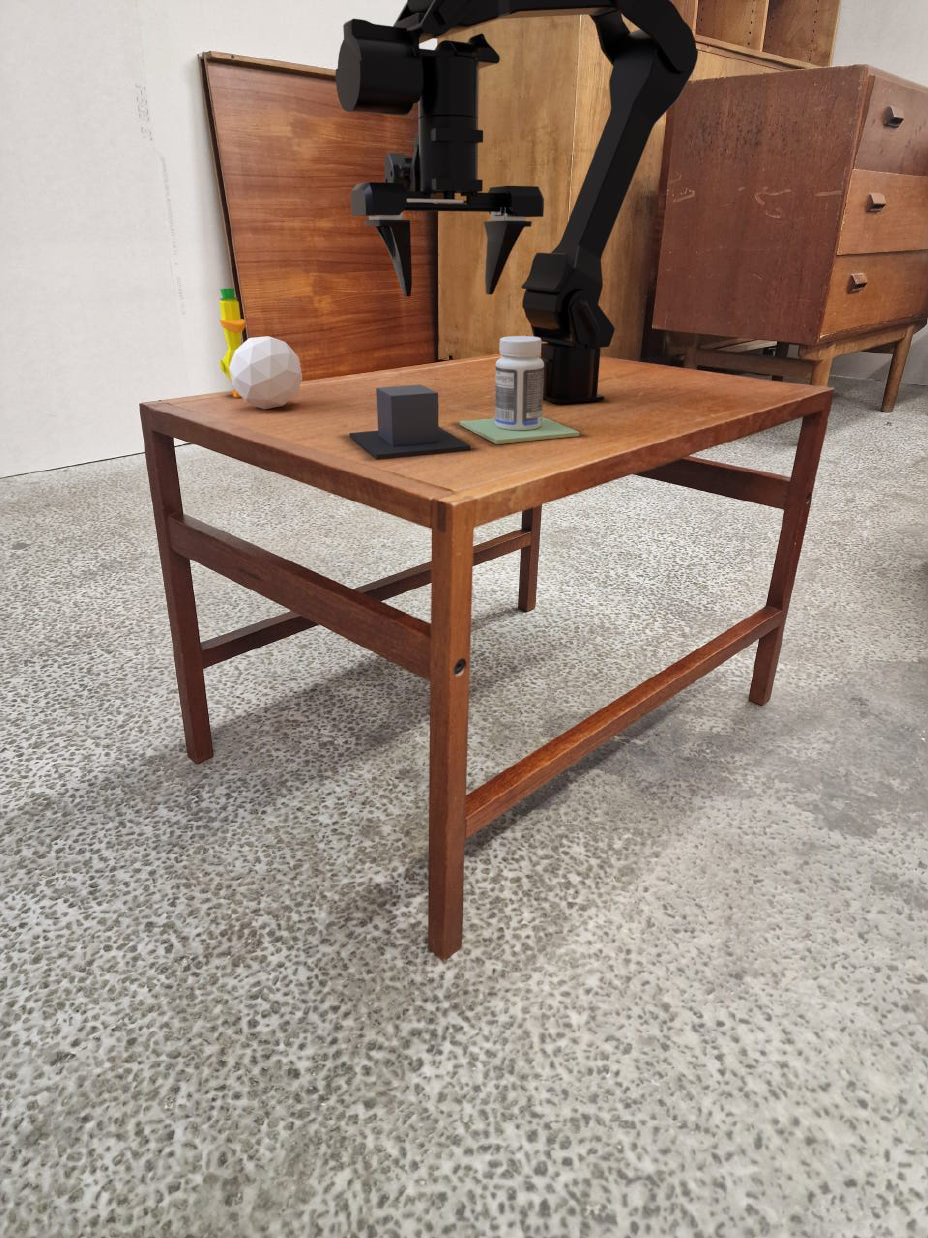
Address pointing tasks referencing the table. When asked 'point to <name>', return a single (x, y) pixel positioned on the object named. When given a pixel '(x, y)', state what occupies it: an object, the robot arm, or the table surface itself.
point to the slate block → (407, 415)
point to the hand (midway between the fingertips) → (449, 295)
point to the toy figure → (230, 329)
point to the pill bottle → (519, 384)
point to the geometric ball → (265, 372)
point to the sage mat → (518, 431)
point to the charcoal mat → (385, 450)
